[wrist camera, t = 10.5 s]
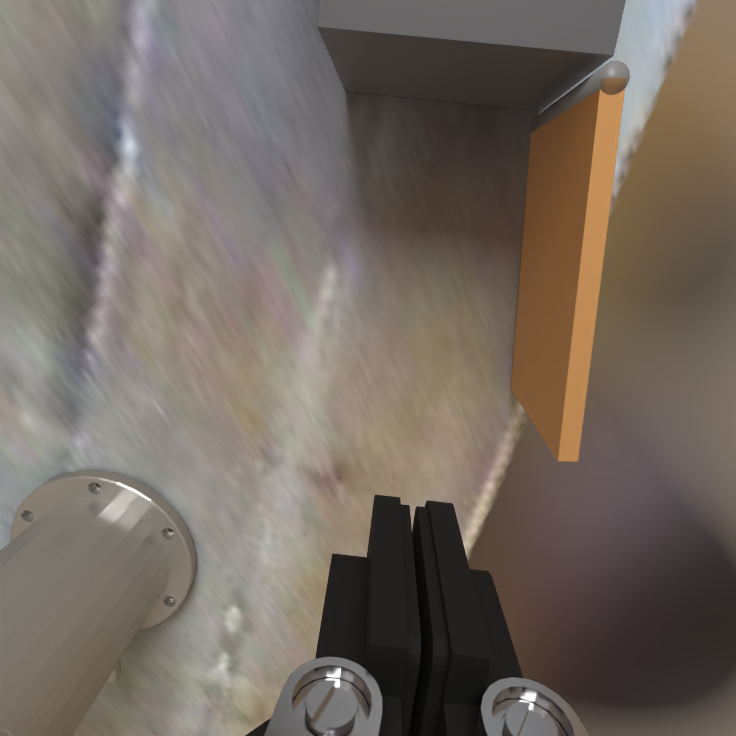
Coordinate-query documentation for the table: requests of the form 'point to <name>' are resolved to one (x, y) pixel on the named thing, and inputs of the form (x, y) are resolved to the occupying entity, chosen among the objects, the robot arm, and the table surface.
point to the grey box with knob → (469, 47)
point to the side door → (565, 254)
